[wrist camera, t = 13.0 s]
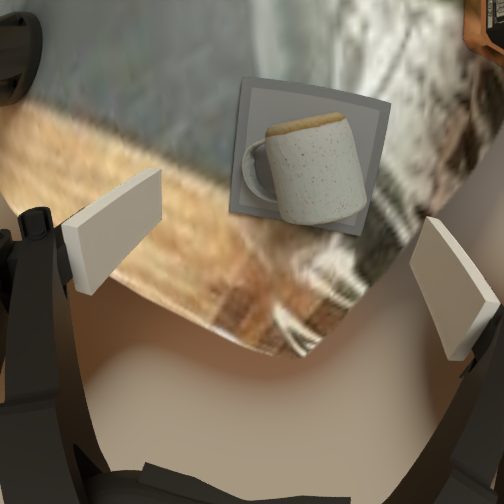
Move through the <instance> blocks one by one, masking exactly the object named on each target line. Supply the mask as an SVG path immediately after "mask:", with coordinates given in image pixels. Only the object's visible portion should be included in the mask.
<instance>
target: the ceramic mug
mask: <svg viewBox="0 0 504 504" xmlns="http://www.w3.org/2000/svg"><path fill="white" fill-rule="evenodd" d="M263 144H265V146H266V152H267V156H268V160H269V164H270V167H271V171H272V176H273V181H274V186H275V191H276V194H275V193H272V192H269V191H268V190H266V189H265V188H264V187H262V186H261V184H260V183H259V181H258V180H257V176H256V170H255V164H254V163H255V159H254V157H253V156H254V153H255V151H256V150H257V149H258V147H259V146H261V145H263ZM242 172H243V177H244V180H245V182H246V184H247V186H248V188H249V189H250V190H251V191H252V192H253V193H254V194H255V195H256V196H258V197H260V198H261V199H263V200H266V201H269V202H274V203H278V205H279V210H280V214H281V217H282V219H283V220H284V221H286V222H288V223H292V224H296V225H315V224H324V223H329V222H333V221H337V220H342V219H345V218H348V217H351V216H353V215H355V214H356V213H358V212H359V211H361V210H362V209H363V208H364V207H365V206H366V204H367V197H366V192H365V187H364V182H363V177H362V172H361V167H360V163H359V159H358V155H357V151H356V146H355V141H354V137H353V134H352V130H351V128H350V126H349V123H348V121H347V119H346V117H345V116H344V115H343V114H341V113H339V112H333V113H327V114H322V115H317V116H312V117H307V118H303V119H298V120H293V121H289V122H285V123H281V124H277V125H274V126H270V127H269V128H268V129H267V131H266V133H265V139H262V140H260V141H257V142H255V143H253V144H252V145H251V146H249V147H248V148H247V149H246V151H245V153H244V155H243V158H242Z"/></svg>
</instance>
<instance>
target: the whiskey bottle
mask: <svg viewBox="0 0 504 504" xmlns="http://www.w3.org/2000/svg"><path fill="white" fill-rule="evenodd" d="M463 39H464V41H465V42H466V44H467V46H468V47H469V49H470V50H472V51H474V52H476V53H478V54H480V55H482V56H484V57H486V58H488V59H489V60H491V61H493V62H495V63H497V64H498V65H500V66H502V67H503V68H504V0H465V14H464V34H463Z"/></svg>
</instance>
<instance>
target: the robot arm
mask: <svg viewBox="0 0 504 504" xmlns="http://www.w3.org/2000/svg"><path fill="white" fill-rule="evenodd" d="M41 48H42V31H41V26H40V23H39V21H38V19H37V17H36V16H35V15H34V14H32V13H30V12H12V13H9V14H6V15H3V16H1V17H0V107H3V106H7V105H11V104H14V103H16V102H17V101H18V100H20V99H21V98H22V97H23V95H24V94H25V93H26V91H27V90H28V88H29V87H30V85H31V83H32V81H33V78H34V76H35V74H36V71H37V68H38V64H39V60H40V55H41ZM161 220H162V200H161V169H154V168H147V169H145V170H143V171H142V172H140V173H138V174H137V175H135V176H133V177H132V178H130V179H128V180H127V181H125V182H124V183H122V184H120V185H119V186H117V187H116V188H114V189H112V190H111V191H109V192H108V193H106V194H105V195H103V196H102V197H100V198H98V199H97V200H95V201H94V202H92V203H91V204H89V205H88V206H86V207H84V208H82V209H81V210H79V211H78V212H76V214H74V215H72V216H71V217H70V218H68V219H66V220H65V221H64V222H62V223H61V224H60V225H58V226H57V227H55V228H54V227H53V222H52V216H51V211H50V208H48V207H35V208H32V209H29V210H27V211H25V212H23V213H22V214H20V215H19V217H18V223H19V227H20V231H21V236H22V241H13V240H12V236H11V232H10V230H8V229H1V230H0V373H1V369H2V365H3V362H4V358H5V402H4V403H0V485H1V490H2V495H3V500H4V504H350V501H351V498H350V497H317V496H295V497H287V498H280V499H279V498H278V499H268V500H255V501H247V500H242V499H240V498H237V497H235V496H232V495H230V494H228V493H226V492H223V491H221V490H219V489H217V488H215V487H213V486H211V485H209V484H207V483H205V482H202V481H201V480H199V479H197V478H195V477H192V476H188V475H184V474H181V473H178V472H174V471H171V470H168V469H165V468H162V467H158V466H156V465H153V464H149V463H147V462H145V465H144V467H143V470H142V471H138V470H121V471H112V472H111V470H110V468H109V466H108V464H107V462H106V460H105V458H104V456H103V454H102V452H101V450H100V448H99V445H98V442H97V439H96V435H95V432H94V429H93V425H92V421H91V419H90V414H89V410H88V407H87V402H86V398H85V393H84V389H83V385H82V380H81V375H80V369H79V364H78V359H77V353H76V347H75V340H74V333H73V325H72V317H71V308H70V298H69V290H68V286H67V283H68V282H69V281H70V280H71V279H72V278H73V281H74V285H75V289H76V291H79V292H82V293H85V294H89V295H92V294H93V293H94V292H95V291H96V290H97V289H98V287H99V286H100V285H101V284H102V283H103V282H104V281H105V280H106V278H107V277H108V276H109V275H110V274H111V273H112V272H113V271H114V269H115V268H116V267H117V266H118V265H119V264H120V263H121V262H122V261H123V260H124V259H125V257H126V256H127V255H128V254H129V253H130V252H131V251H132V250H133V249H134V248H135V247H136V246H137V245H138V244H139V243H140V242H141V241H142V239H143V238H144V237H145V236H146V235H147V234H148V233H149V232H150V231H151V230H152V229H153V228H154V227H155V226H156V225H157V224H158V223H159V222H160V221H161ZM409 265H410V267H411V269H412V271H413V273H414V276H415V278H416V280H417V282H418V284H419V287H420V289H421V291H422V294H423V296H424V298H425V301H426V303H427V305H428V308H429V310H430V313H431V315H432V318H433V320H434V323H435V325H436V328H437V331H438V333H439V336H440V338H441V341H442V344H443V347H444V350H445V352H446V355H447V358H448V360H454V361H463V360H464V359H465V358H466V356H467V355H468V354H469V352H470V351H471V349H472V350H473V353H474V356H475V357H474V358H473V360H472V361H471V362H470V364H469V365H468V366H467V368H466V369H465V370H464V371H463V373H462V374H461V375H460V378H462V377H463V376H464V377H463V379H462V381H461V383H460V385H459V387H458V389H457V392H456V393H455V396H454V397H453V399H452V401H451V403H450V405H449V407H448V409H447V411H446V413H445V414H444V416H443V418H442V420H441V422H440V423H439V425H438V427H437V429H436V430H435V432H434V433H433V435H432V437H431V438H430V440H429V442H428V443H427V445H426V446H425V448H424V449H423V451H422V452H421V454H420V456H419V457H418V458H417V460H416V462H415V463H414V464H413V466H412V467H411V469H410V470H409V471H408V473H407V474H406V476H405V477H404V478H403V479H402V481H401V482H400V484H399V485H398V486H397V487H396V489H395V490H394V491H393V492H392V494H391V495H390V496H389V497H388V498H387V499H386V500H385V501H384V502H383V503H382V504H504V307H503V305H502V304H501V302H500V300H499V299H498V297H497V296H496V294H494V291H493V289H492V288H490V285H489V284H488V282H487V281H486V279H485V278H484V277H483V276H482V275H481V273H480V272H479V270H478V269H477V267H476V266H475V265H474V263H473V262H472V261H471V259H470V258H469V257H468V255H467V254H466V253H465V251H464V250H463V249H462V247H461V246H460V245H459V243H458V242H457V241H456V240H455V238H454V237H453V236H452V235H451V233H450V232H449V231H448V230H447V229H446V227H445V226H444V225H443V224H442V222H441V221H440V220H439V219H435V218H432V217H428V216H426V219H425V222H424V225H423V228H422V231H421V234H420V236H419V239H418V242H417V245H416V247H415V250H414V253H413V255H412V258H411V260H410V263H409ZM497 468H498V471H497ZM496 471H497V477H496V482H495V487H494V490H492V489H491V488H490V486H491V483H492V480H493V478H494V475H495V473H496Z"/></svg>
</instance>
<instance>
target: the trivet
mask: <svg viewBox="0 0 504 504" xmlns="http://www.w3.org/2000/svg"><path fill="white" fill-rule="evenodd" d="M390 108H391V103H388V102H385V101H381V100H377V99H374V98H370V97H366V96H362V95H357V94H353V93H349V92H344V91H339V90H335V89H330V88H324V87H319V86H313V85H308V84H301V83H295V82H288V81H281V80H273V79H264V78H254V77H243V78H242V87H241V96H240V105H239V114H238V124H237V133H236V143H235V153H234V163H233V174H232V185H231V196H230V207H229V211H230V212H236V213H242V214H247V215H253V216H259V217H264V218H270V219H275V220H280V221H284V220H283V219H282V217H281V214H280V210H279V205H278V203H274V202H269V201H266V200H263V199H261V198H260V197H258V196H256V195H255V194H254V193H253V192H252V191H251V190H250V189H249V188H248V186H247V184H246V182H245V180H244V177H243V172H242V158H243V155H244V153H245V151H246V149H247V148H248V147H249V146H251V145H252V144H253V143H255V142H257V141H260V140H262V139H265V133H266V131H267V129H268V128H269V127H270V126H274V125H277V124H281V123H285V122H289V121H293V120H298V119H303V118H307V117H312V116H317V115H322V114H327V113H333V112H339V113H341V114H343V115H344V116H345V117H346V119H347V121H348V123H349V126H350V128H351V130H352V134H353V137H354V141H355V146H356V151H357V155H358V159H359V163H360V167H361V172H362V177H363V182H364V187H365V192H366V197H367V204H366V206H365V207H364V208H363V209H362V210H361V211H359V212H358V213H356V214H355V215H353V216H351V217H348V218H345V219H342V220H337V221H333V222H329V223H324V224H315V225H307V226H312V227H317V228H322V229H327V230H332V231H337V232H342V233H347V234H352V235H357V236H361V233H362V230H363V226H364V223H365V219H366V215H367V212H368V208H369V204H370V200H371V196H372V192H373V188H374V184H375V180H376V176H377V172H378V168H379V163H380V159H381V154H382V149H383V145H384V140H385V135H386V130H387V125H388V119H389V114H390ZM253 157H254V159H255V163H254V164H255V170H256V176H257V180H258V181H259V183H260V184H261V186H262V187H264V188H265V189H266V190H268V191H269V192H272V193H275V194H276V191H275V186H274V181H273V176H272V171H271V167H270V164H269V160H268V156H267V152H266V146H265V144H263V145H261V146H259V147H258V149H257V150H256V151H255V153H254V156H253Z"/></svg>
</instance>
